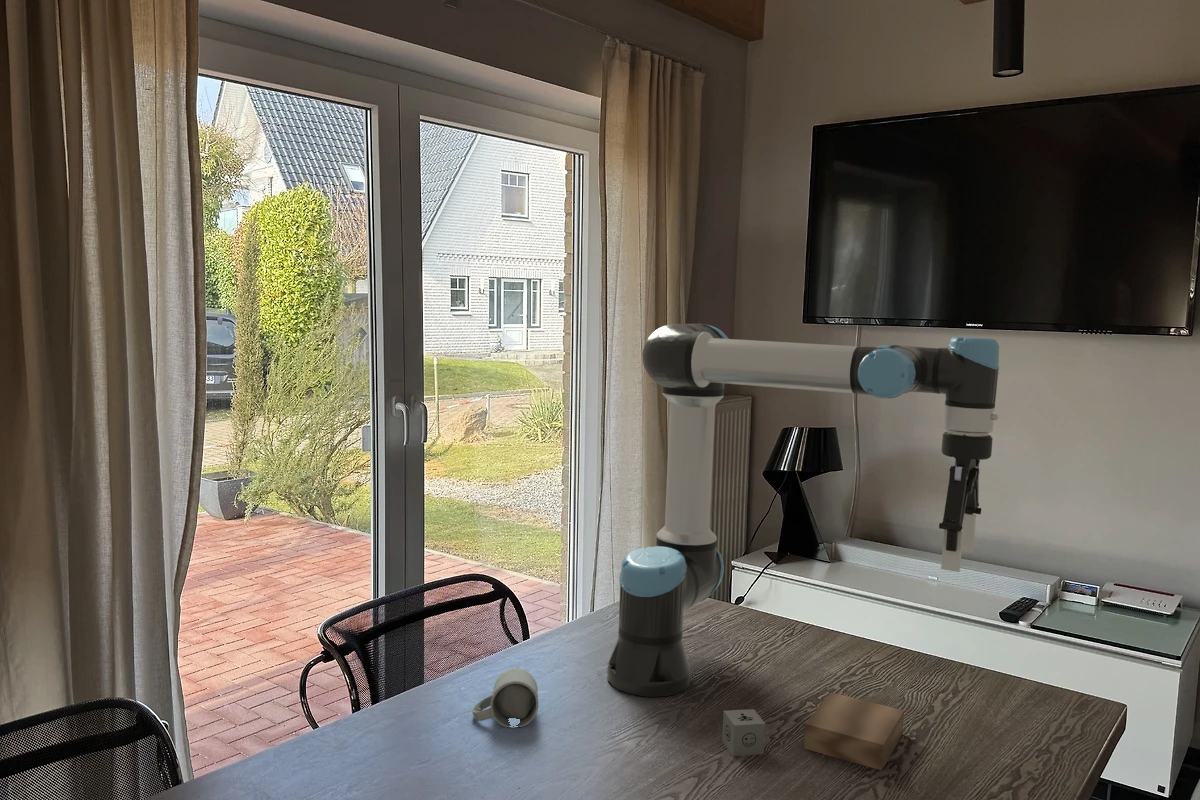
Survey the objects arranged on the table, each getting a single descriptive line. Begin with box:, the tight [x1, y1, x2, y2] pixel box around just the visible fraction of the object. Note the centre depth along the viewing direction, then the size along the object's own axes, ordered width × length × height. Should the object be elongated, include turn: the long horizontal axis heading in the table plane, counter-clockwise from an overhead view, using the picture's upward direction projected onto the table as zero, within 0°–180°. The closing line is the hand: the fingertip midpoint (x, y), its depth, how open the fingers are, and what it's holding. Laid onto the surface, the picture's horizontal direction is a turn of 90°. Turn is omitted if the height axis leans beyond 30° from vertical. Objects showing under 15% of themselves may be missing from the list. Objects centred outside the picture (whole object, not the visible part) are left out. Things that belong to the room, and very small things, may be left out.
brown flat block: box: [803, 691, 905, 771], centre depth 144 cm, size 12×14×4 cm
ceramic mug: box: [472, 667, 539, 728], centre depth 148 cm, size 11×8×8 cm
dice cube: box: [721, 708, 766, 757], centre depth 141 cm, size 5×5×5 cm
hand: (957, 560), depth 149 cm, fingers open, 13 cm apart
